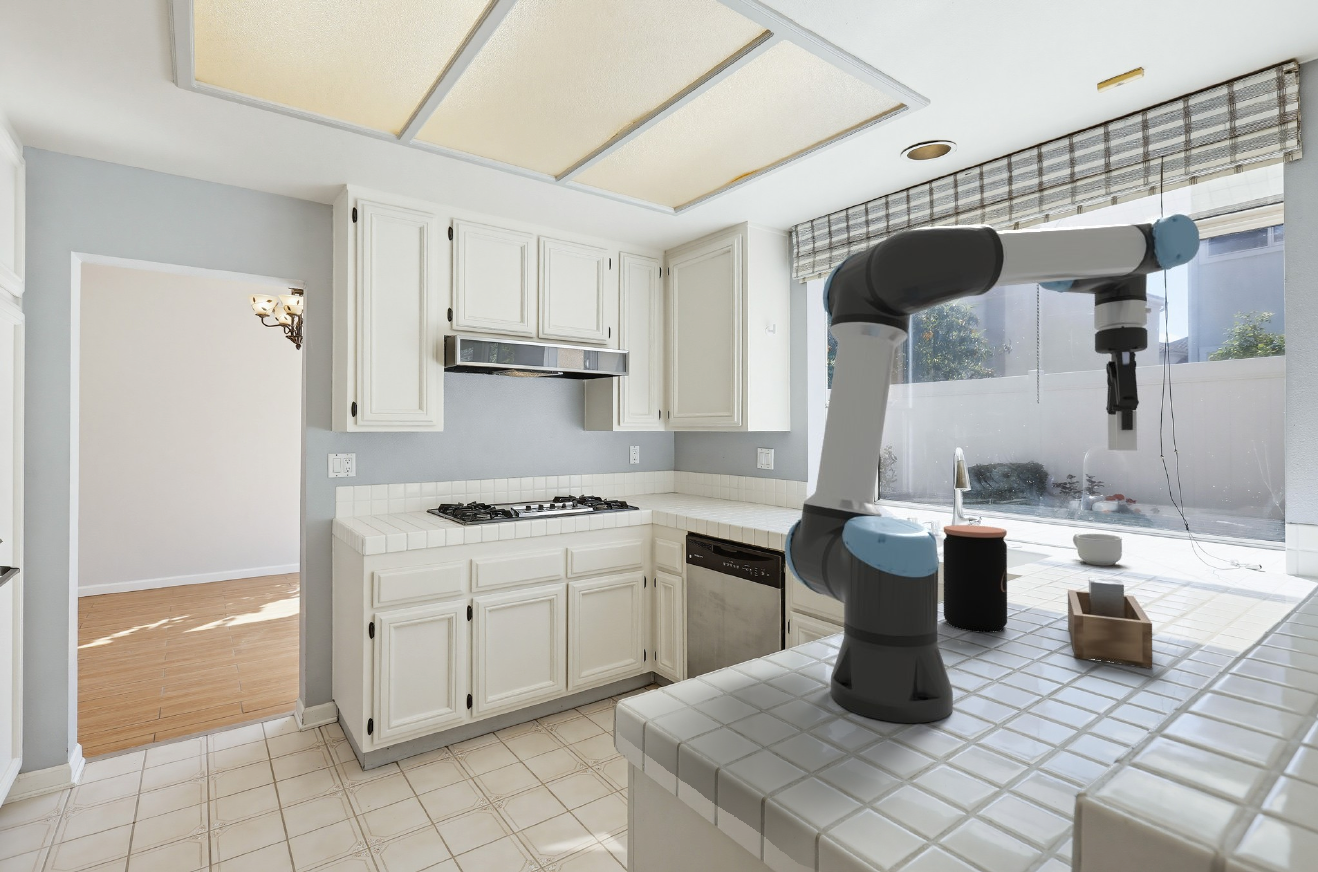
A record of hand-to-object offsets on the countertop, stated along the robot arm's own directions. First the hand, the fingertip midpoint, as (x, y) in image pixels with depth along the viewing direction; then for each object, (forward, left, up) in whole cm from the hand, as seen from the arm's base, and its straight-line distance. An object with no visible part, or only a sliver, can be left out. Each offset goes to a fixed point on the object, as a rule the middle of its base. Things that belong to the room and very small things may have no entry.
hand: (1121, 450), depth 113 cm
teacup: (+2, +85, -33) cm, 91 cm away
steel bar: (-3, -7, -32) cm, 33 cm away
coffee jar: (-23, -4, -33) cm, 40 cm away
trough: (-3, -7, -33) cm, 33 cm away
